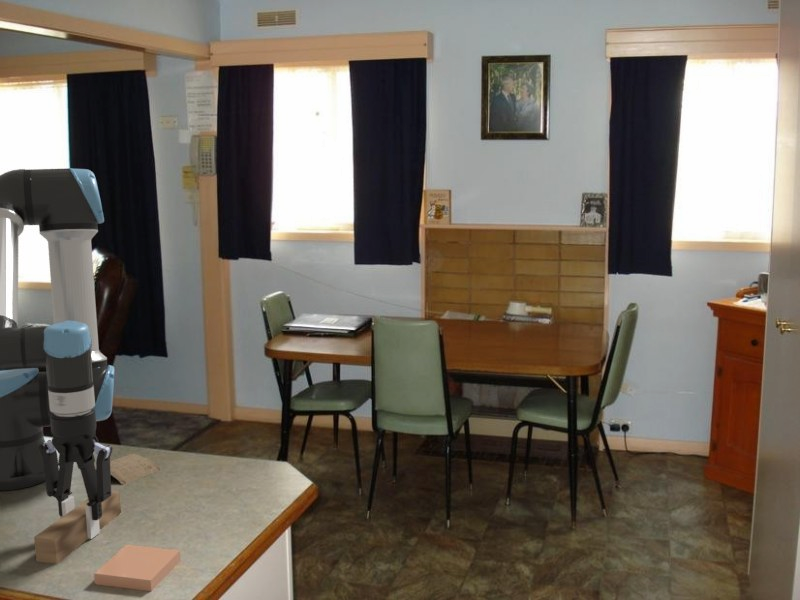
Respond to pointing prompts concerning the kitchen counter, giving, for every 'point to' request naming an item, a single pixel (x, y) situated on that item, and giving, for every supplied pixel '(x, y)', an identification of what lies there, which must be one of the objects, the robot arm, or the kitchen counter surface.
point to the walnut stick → (72, 530)
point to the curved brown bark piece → (131, 468)
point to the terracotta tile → (137, 567)
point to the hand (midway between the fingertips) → (82, 533)
